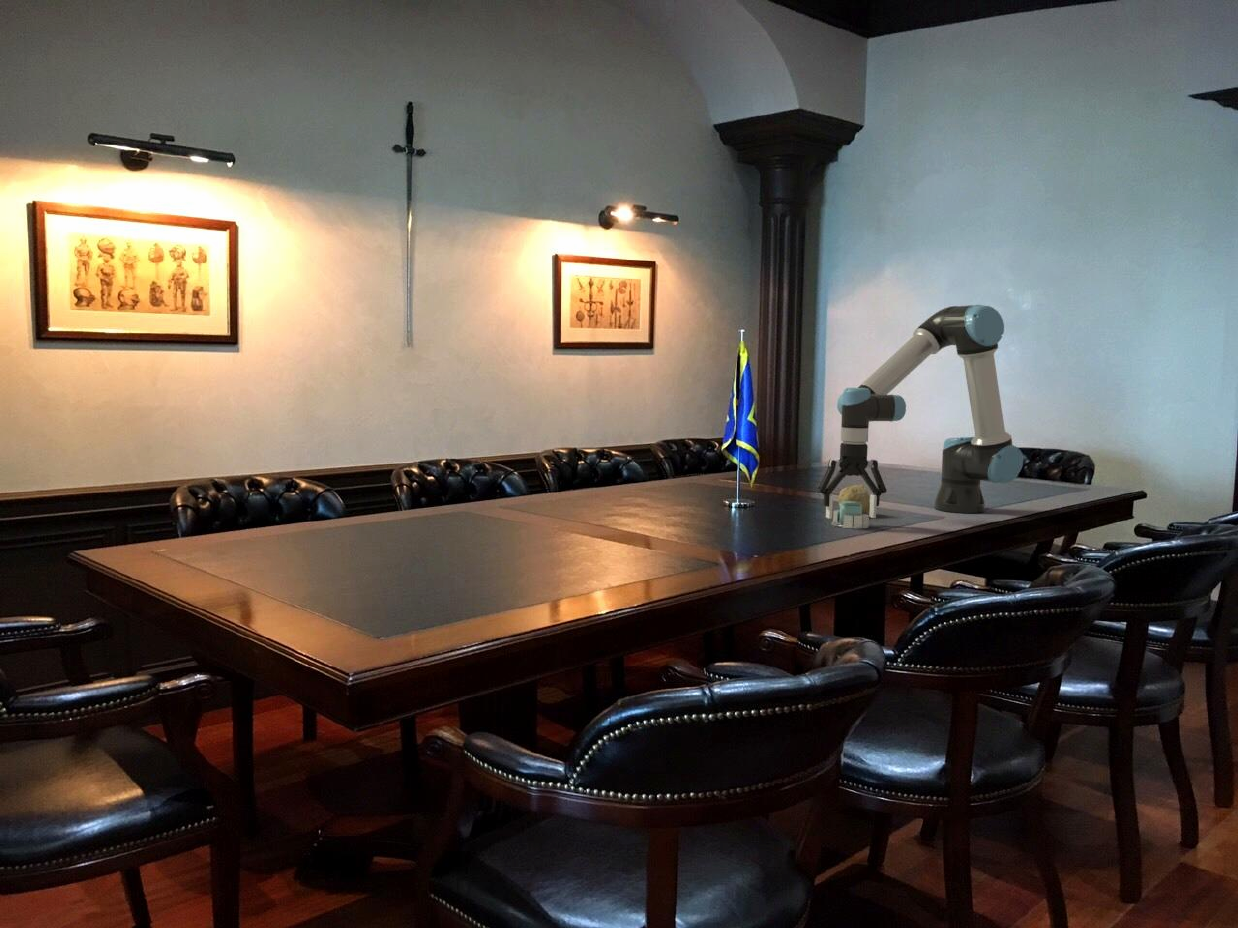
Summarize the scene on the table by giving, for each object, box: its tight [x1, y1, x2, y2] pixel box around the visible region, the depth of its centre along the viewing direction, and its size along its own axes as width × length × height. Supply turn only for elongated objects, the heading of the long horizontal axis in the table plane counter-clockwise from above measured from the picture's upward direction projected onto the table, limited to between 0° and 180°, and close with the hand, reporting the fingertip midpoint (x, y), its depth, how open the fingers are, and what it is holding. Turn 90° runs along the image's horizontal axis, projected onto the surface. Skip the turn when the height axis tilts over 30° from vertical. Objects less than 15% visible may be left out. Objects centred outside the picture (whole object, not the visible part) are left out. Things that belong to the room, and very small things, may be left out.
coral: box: [838, 483, 870, 515], centre depth 312 cm, size 10×10×10 cm
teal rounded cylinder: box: [839, 501, 862, 524], centre depth 293 cm, size 6×6×6 cm
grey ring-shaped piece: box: [831, 509, 870, 530], centre depth 294 cm, size 10×10×4 cm
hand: (850, 517), depth 294 cm, fingers open, 12 cm apart
